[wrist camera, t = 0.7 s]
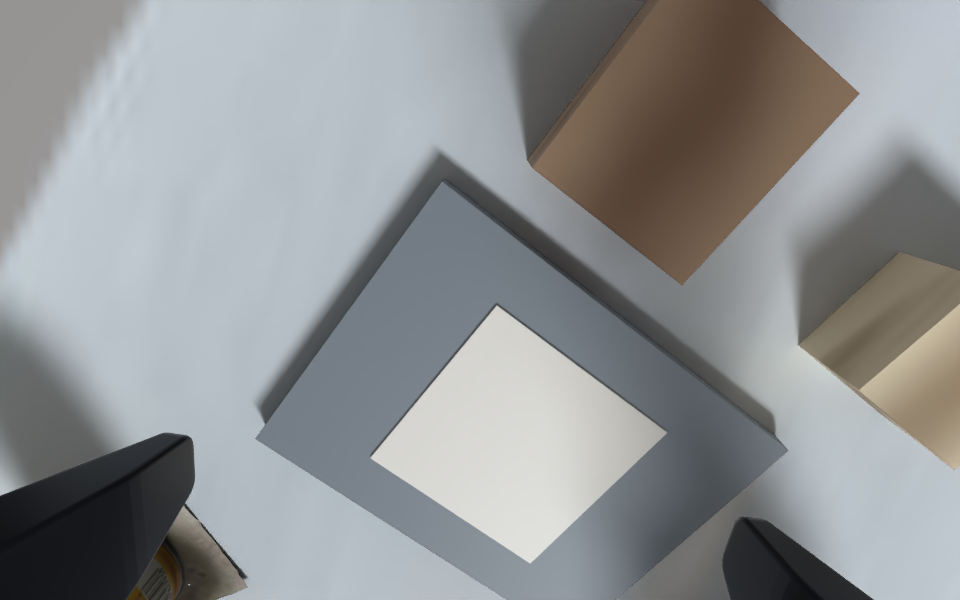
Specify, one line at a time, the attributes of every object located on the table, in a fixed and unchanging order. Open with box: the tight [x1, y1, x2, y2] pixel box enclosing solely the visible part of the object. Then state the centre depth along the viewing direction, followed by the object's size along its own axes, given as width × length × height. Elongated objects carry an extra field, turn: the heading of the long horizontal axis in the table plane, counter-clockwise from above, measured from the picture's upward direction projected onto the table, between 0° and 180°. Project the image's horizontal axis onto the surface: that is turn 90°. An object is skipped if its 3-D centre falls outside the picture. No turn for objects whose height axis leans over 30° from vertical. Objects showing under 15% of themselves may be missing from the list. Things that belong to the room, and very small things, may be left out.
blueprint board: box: [255, 179, 788, 600], centre depth 23 cm, size 18×14×1 cm
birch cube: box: [798, 252, 960, 470], centre depth 19 cm, size 5×5×4 cm
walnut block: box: [527, 0, 860, 285], centre depth 17 cm, size 6×7×4 cm
